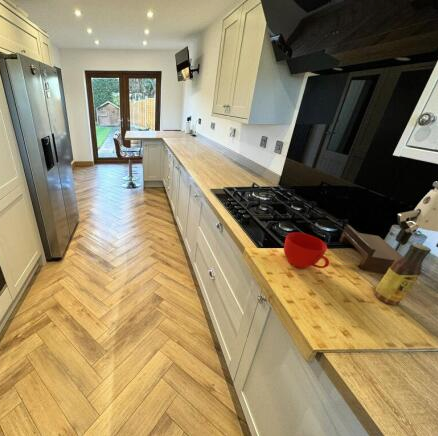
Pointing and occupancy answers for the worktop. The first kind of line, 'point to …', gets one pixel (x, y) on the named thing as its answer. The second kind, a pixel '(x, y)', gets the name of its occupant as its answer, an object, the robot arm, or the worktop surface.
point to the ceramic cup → (304, 250)
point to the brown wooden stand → (371, 250)
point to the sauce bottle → (402, 275)
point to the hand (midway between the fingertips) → (420, 245)
